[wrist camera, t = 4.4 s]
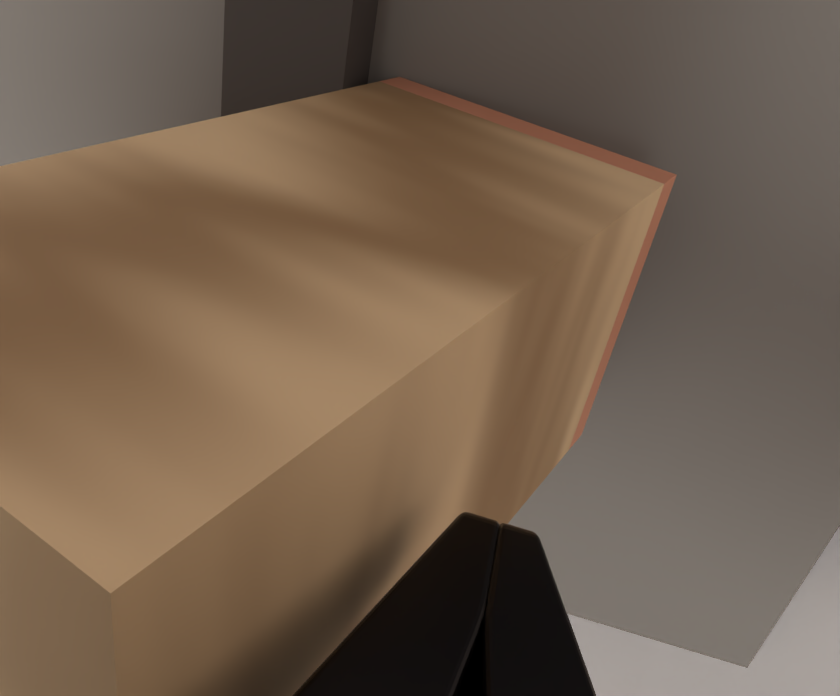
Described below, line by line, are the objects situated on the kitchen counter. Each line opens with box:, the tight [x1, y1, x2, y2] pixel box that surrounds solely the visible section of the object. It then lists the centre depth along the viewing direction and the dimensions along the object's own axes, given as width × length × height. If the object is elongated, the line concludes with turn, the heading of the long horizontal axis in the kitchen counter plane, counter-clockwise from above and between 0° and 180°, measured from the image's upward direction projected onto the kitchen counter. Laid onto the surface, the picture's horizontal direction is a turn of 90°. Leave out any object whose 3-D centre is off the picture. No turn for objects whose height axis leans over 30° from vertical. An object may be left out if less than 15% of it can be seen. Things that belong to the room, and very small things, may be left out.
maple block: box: [0, 77, 677, 696], centre depth 10 cm, size 5×5×10 cm
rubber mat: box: [0, 0, 840, 668], centre depth 15 cm, size 22×18×2 cm
